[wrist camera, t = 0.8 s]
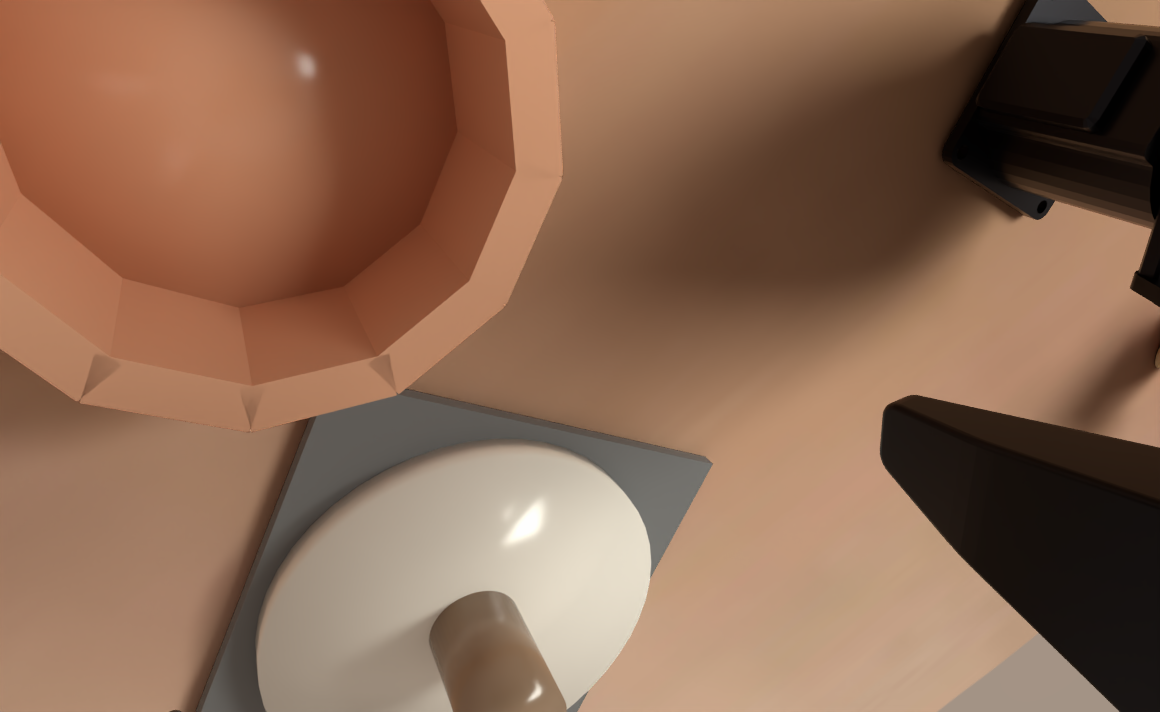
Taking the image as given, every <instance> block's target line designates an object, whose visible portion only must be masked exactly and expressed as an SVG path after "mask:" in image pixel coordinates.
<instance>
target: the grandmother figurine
mask: <svg viewBox="0 0 1160 712" xmlns="http://www.w3.org/2000/svg"><path fill="white" fill-rule="evenodd" d="M1155 365H1156V367H1157V368H1160V348H1159V350H1158V352H1157V355H1156V359H1155Z"/></svg>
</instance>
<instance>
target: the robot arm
mask: <svg viewBox="0 0 1160 712" xmlns="http://www.w3.org/2000/svg"><path fill="white" fill-rule="evenodd" d="M957 152H958V153H957ZM942 158H943V161H944V162H945V163H946V164H947V165H949V166H950V167H952V168H953V169H955V170H956V171H958V172H959V173H961V174H962V175H964V176H965V177H967V178H968V179H970V180H971V181H973V182H974V183H976V184H977V185H979V186H980V187H982V188H983V189H985V190H987V191H988V192H990V193H991V194H993V195H994V196H996V197H997V198H999V199H1000V200H1002V201H1003V202H1005V203H1006V204H1008V205H1009V206H1011V207H1012V208H1014V209H1015V210H1017V211H1018V212H1020V213H1021V214H1023V215H1024V216H1027V217H1030V218H1033V219H1036V220H1039V219H1041V218H1043V217H1044V216H1045V215H1046V214H1047V213H1048V211H1049V210H1050V208H1051V206H1052V205H1053V203H1054V202H1055V201H1058V202H1062V203H1065V204H1069V205H1072V206H1075V207H1079V208H1082V209H1086V210H1089V211H1092V212H1096V213H1099V214H1103V215H1106V216H1109V217H1113V218H1116V219H1119V220H1123V221H1126V222H1130V223H1133V224H1136V225H1140V226H1143V227H1147V228H1150V229H1152V231H1151V234H1150V237H1149V240H1148V244H1147V247H1146V250H1145V253H1144V256H1143V259H1142V262H1141V265H1140V269H1139V270H1138V271H1136V272H1135V273H1134V276H1133V280H1132V283H1131V286H1130V289H1132V290H1133V291H1135V292H1136V293H1138V294H1140V295H1141V296H1143V297H1145V298H1146V299H1148V300H1150V301H1151V302H1153V303H1154V304H1155V305H1157V306H1159V307H1160V27H1157V26H1146V25H1134V24H1123V23H1111V22H1107V21H1106V20H1105V19H1104V18H1103V17H1102V16H1101V15H1100V14H1099V13H1098V12H1097V11H1096V10H1095V9H1094V7H1093V6H1092V5H1091V4H1090V3H1089V2H1088V1H1087V0H1027V1H1026V3H1025V4H1024V6H1023V8H1022V10H1021V11H1020V13H1019V15H1018V17H1017V19H1016V20H1015V22H1014V24H1013V26H1012V27H1011V29H1010V31H1009V33H1008V34H1007V36H1006V38H1005V40H1004V42H1003V43H1002V45H1001V47H1000V49H999V50H998V52H997V54H996V56H995V57H994V59H993V61H992V63H991V64H990V66H989V68H988V70H987V72H986V73H985V75H984V77H983V79H982V80H981V82H980V84H979V86H978V87H977V89H976V91H975V93H974V94H973V96H972V98H971V100H970V102H969V103H968V105H967V107H966V109H965V110H964V112H963V114H962V116H961V117H960V119H959V121H958V123H957V124H956V126H955V128H954V130H953V132H952V133H951V135H950V137H949V139H948V140H947V142H946V144H945V146H944V149H943V153H942ZM880 456H881V460H882V463H883V465H884V466H885V468H886V470H887V471H888V472H889V473H890V475H891V476H892V477H893V478H894V479H895V481H896V482H897V483H898V484H899V485H900V486H901V488H902V489H903V490H904V491H905V492H906V494H907V495H908V496H909V497H910V498H911V499H912V501H913V502H914V503H915V504H916V505H917V506H918V508H919V509H920V510H921V511H922V512H923V514H924V515H925V516H926V517H927V518H928V519H929V521H930V522H931V523H932V524H933V525H934V527H935V528H936V529H937V530H938V531H939V532H940V534H941V535H942V536H943V537H944V538H945V539H946V541H947V542H948V543H949V544H950V545H951V546H952V547H953V548H954V550H955V551H956V552H957V553H958V554H959V555H960V556H961V557H962V558H963V559H964V560H965V561H966V562H967V563H968V564H969V565H970V566H971V567H972V568H973V569H974V570H975V571H976V572H977V573H978V574H979V575H980V576H981V577H982V578H983V579H984V580H985V581H986V582H987V583H988V584H989V585H990V586H991V587H992V588H993V589H994V590H995V591H996V592H997V593H998V594H999V595H1000V596H1001V597H1002V598H1003V599H1004V600H1005V601H1006V602H1008V603H1009V604H1010V605H1011V606H1012V607H1013V608H1014V609H1015V610H1016V611H1017V612H1018V613H1019V614H1020V615H1021V616H1022V617H1023V618H1024V619H1025V620H1026V621H1027V622H1028V623H1029V624H1030V625H1031V626H1032V627H1033V628H1034V629H1035V630H1036V631H1037V632H1038V633H1039V634H1041V635H1042V637H1043V638H1045V639H1046V640H1047V641H1048V642H1049V643H1050V644H1051V645H1052V646H1053V647H1054V648H1055V649H1056V650H1057V651H1058V652H1059V653H1060V654H1061V655H1062V656H1063V657H1064V658H1065V659H1066V660H1067V661H1068V662H1069V663H1070V664H1071V665H1072V666H1073V667H1074V668H1075V669H1077V671H1079V673H1080V674H1081V675H1083V676H1084V677H1085V678H1086V679H1087V680H1088V681H1089V682H1090V683H1091V684H1092V685H1093V686H1094V687H1095V688H1096V689H1097V690H1098V691H1099V692H1100V693H1101V694H1102V695H1103V696H1104V697H1105V698H1106V699H1107V700H1108V701H1109V702H1110V703H1111V704H1112V705H1113V706H1114V707H1115V708H1116V709H1117V710H1119V712H1160V448H1159V447H1154V446H1149V445H1145V444H1140V443H1136V442H1131V441H1126V440H1122V439H1117V438H1112V437H1108V436H1103V435H1099V434H1094V433H1089V432H1085V431H1080V430H1076V429H1071V428H1066V427H1062V426H1057V425H1052V424H1048V423H1043V422H1039V421H1034V420H1029V419H1025V418H1020V417H1015V416H1011V415H1006V414H1002V413H997V412H992V411H988V410H983V409H979V408H974V407H969V406H965V405H960V404H956V403H951V402H946V401H942V400H937V399H932V398H928V397H923V396H918V395H910V396H907V397H904V398H902V399H900V400H897V401H895V402H892V403H890V404H889V405H887V406H886V408H885V409H884V411H883V418H882V430H881V443H880ZM170 712H181V711H179V710H173V711H170Z"/></svg>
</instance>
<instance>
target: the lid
mask: <svg viewBox="0 0 1160 712" xmlns="http://www.w3.org/2000/svg"><path fill="white" fill-rule="evenodd" d="M650 572H651V553H650V543H649V539H648V535H647V531H646V528H645V525H644V523H643V521H642V519H641V517H640V514H639V512H638V511H637V509H636V508H635V506H634V505H633V504H632V502H631V501H630V499H629V498H628V497H627V495H626V494H625V493H624V492H623V490H622V489H621V488H620V487H619V485H618V484H617V483H616V482H615V481H614V480H613V479H612V478H611V477H610V476H609V475H608V474H607V473H606V472H605V471H604V470H603V469H602V468H601V467H600V466H598V465H597V464H595V463H594V462H592V461H591V460H589V459H588V458H586V457H585V456H582V455H580V454H578V453H576V452H574V451H572V450H569V449H567V448H564V447H561V446H557V445H554V444H550V443H546V442H541V441H534V440H526V439H488V440H479V441H470V442H465V443H460V444H456V445H452V446H447V447H443V448H439V449H436V450H433V451H430V452H427V453H425V454H422V455H419V456H416V457H413V458H411V459H408V460H406V461H404V462H402V463H400V464H398V465H395V466H393V467H391V468H389V469H387V470H385V471H383V472H381V473H380V474H378V475H376V476H375V477H373V478H371V479H370V480H368V481H366V482H364V483H363V484H361V485H359V486H358V487H356V488H355V489H354V490H352V491H351V492H350V493H348V494H347V495H346V496H344V497H343V498H342V499H340V500H339V501H338V502H336V503H335V504H334V505H333V506H331V507H330V508H329V509H328V510H327V511H326V512H325V513H324V514H323V515H322V516H321V517H320V518H319V519H317V520H316V521H315V522H314V523H313V524H312V525H311V526H310V527H309V528H308V530H307V531H306V532H305V533H304V534H303V535H302V537H301V538H300V539H299V540H298V541H297V542H296V544H295V545H294V546H293V547H292V549H291V550H290V552H289V553H288V555H287V556H286V558H285V559H284V561H283V562H282V564H281V565H280V567H279V568H278V570H277V572H276V574H275V576H274V578H273V580H272V582H271V584H270V586H269V588H268V590H267V592H266V594H265V598H264V601H263V604H262V607H261V610H260V614H259V617H258V623H257V630H256V638H255V648H256V665H257V674H258V683H259V689H260V693H261V697H262V701H263V705H264V708H265V710H266V712H567V709H568V708H570V707H571V706H572V705H573V704H574V703H576V702H577V701H578V700H579V699H580V698H581V697H582V696H583V695H584V694H585V693H586V692H587V691H588V690H589V689H590V688H591V687H592V686H593V685H594V684H595V683H596V682H597V681H598V680H599V679H600V677H601V676H602V675H603V674H604V673H605V672H606V671H607V669H608V668H609V667H610V665H611V664H612V663H613V662H614V660H615V659H616V658H617V656H618V655H619V653H620V652H621V650H622V649H623V647H624V645H625V644H626V642H627V641H628V639H629V637H630V636H631V634H632V632H633V629H634V627H635V625H636V623H637V621H638V619H639V617H640V614H641V611H642V608H643V606H644V603H645V600H646V596H647V591H648V587H649V582H650Z"/></svg>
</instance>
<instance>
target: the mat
mask: <svg viewBox="0 0 1160 712" xmlns="http://www.w3.org/2000/svg"><path fill="white" fill-rule="evenodd" d="M396 393H397V392H396ZM488 439H526V440H534V441H541V442H546V443H550V444H554V445H557V446H561V447H564V448H567V449H569V450H572V451H574V452H576V453H578V454H580V455H582V456H585V457H586V458H588V459H589V460H591V461H592V462H594V463H595V464H597V465H598V466H600V467H601V468H602V469H603V470H604V471H605V472H606V473H607V474H608V475H609V476H610V477H611V478H612V479H613V480H614V481H615V482H616V483H617V484H618V485H619V487H620V488H621V489H622V490H623V492H624V493H625V494H626V495H627V497H628V498H629V499H630V501H631V502H632V504H633V505H634V506H635V508H636V509H637V511H638V512H639V514H640V517H641V519H642V521H643V523H644V525H645V528H646V531H647V535H648V539H649V543H650V553H651V572H650V578H651V576H652V574H653V572H654V570H655V569H656V567H657V565H658V563H659V561H660V560H661V558H662V556H663V554H664V552H665V550H666V549H667V547H668V545H669V543H670V541H671V539H672V538H673V536H674V534H675V532H676V530H677V528H678V527H679V525H680V523H681V521H682V519H683V517H684V516H685V514H686V512H687V510H688V508H689V507H690V505H691V503H692V501H693V499H694V497H695V496H696V494H697V492H698V490H699V488H700V486H701V485H702V483H703V481H704V479H705V477H706V475H707V474H708V472H709V470H710V468H711V466H712V463H711V462H710V461H709V460H708V459H707V458H706V457H704V456H700V455H696V454H691V453H687V452H682V451H678V450H673V449H669V448H665V447H660V446H656V445H651V444H647V443H642V442H638V441H634V440H629V439H625V438H620V437H616V436H612V435H607V434H603V433H598V432H594V431H589V430H585V429H581V428H576V427H572V426H567V425H563V424H559V423H554V422H550V421H545V420H541V419H536V418H532V417H528V416H523V415H519V414H514V413H510V412H505V411H501V410H497V409H492V408H488V407H483V406H479V405H475V404H470V403H466V402H461V401H457V400H452V399H448V398H444V397H439V396H435V395H430V394H426V393H421V392H417V391H413V390H408V389H405V390H404V391H402V392H401V393H400V394H398V393H397V395H396V396H392V397H388V398H385V399H381V400H377V401H373V402H369V403H365V404H361V405H357V406H353V407H349V408H345V409H341V410H338V411H334V412H330V413H326V414H322V415H318V416H314V417H310V419H309V421H308V424H307V426H306V429H305V432H304V434H303V437H302V439H301V442H300V444H299V447H298V450H297V452H296V455H295V457H294V460H293V462H292V465H291V468H290V470H289V473H288V475H287V478H286V480H285V483H284V486H283V488H282V491H281V493H280V496H279V498H278V501H277V504H276V506H275V509H274V511H273V514H272V516H271V519H270V522H269V524H268V527H267V529H266V532H265V534H264V537H263V540H262V542H261V545H260V547H259V550H258V552H257V555H256V558H255V560H254V563H253V565H252V568H251V570H250V573H249V576H248V578H247V581H246V583H245V586H244V588H243V591H242V594H241V596H240V599H239V601H238V604H237V607H236V609H235V612H234V614H233V617H232V619H231V622H230V625H229V627H228V630H227V632H226V635H225V637H224V640H223V643H222V645H221V648H220V650H219V653H218V655H217V658H216V661H215V663H214V666H213V668H212V671H211V673H210V676H209V679H208V681H207V684H206V686H205V689H204V691H203V694H202V697H201V699H200V702H199V704H198V707H197V709H196V712H266V710H265V708H264V705H263V701H262V697H261V693H260V689H259V683H258V674H257V665H256V648H255V638H256V630H257V623H258V617H259V614H260V610H261V607H262V604H263V601H264V598H265V594H266V592H267V590H268V588H269V586H270V584H271V582H272V580H273V578H274V576H275V574H276V572H277V570H278V568H279V567H280V565H281V564H282V562H283V561H284V559H285V558H286V556H287V555H288V553H289V552H290V550H291V549H292V547H293V546H294V545H295V544H296V542H297V541H298V540H299V539H300V538H301V537H302V535H303V534H304V533H305V532H306V531H307V530H308V528H309V527H310V526H311V525H312V524H313V523H314V522H315V521H316V520H317V519H319V518H320V517H321V516H322V515H323V514H324V513H325V512H326V511H327V510H328V509H329V508H330V507H331V506H333V505H334V504H335V503H336V502H338V501H339V500H340V499H342V498H343V497H344V496H346V495H347V494H348V493H350V492H351V491H352V490H354V489H355V488H356V487H358V486H359V485H361V484H363V483H364V482H366V481H368V480H370V479H371V478H373V477H375V476H376V475H378V474H380V473H381V472H383V471H385V470H387V469H389V468H391V467H393V466H395V465H398V464H400V463H402V462H404V461H406V460H408V459H411V458H413V457H416V456H419V455H422V454H425V453H427V452H430V451H433V450H436V449H439V448H443V447H447V446H452V445H456V444H460V443H465V442H470V441H479V440H488ZM588 691H589V690H588ZM588 691H587V692H586V693H585V694H584V695H583V696H582V697H581V698H580V699H579V700H578V701H577V702H576V703H574V704H573V705H572V706H571V707H570V708H568V709H567V712H577V711H578V709H579V708H580V706H581V704H582V702H583V700H584V698H585V697H586V695H587V693H588Z"/></svg>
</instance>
